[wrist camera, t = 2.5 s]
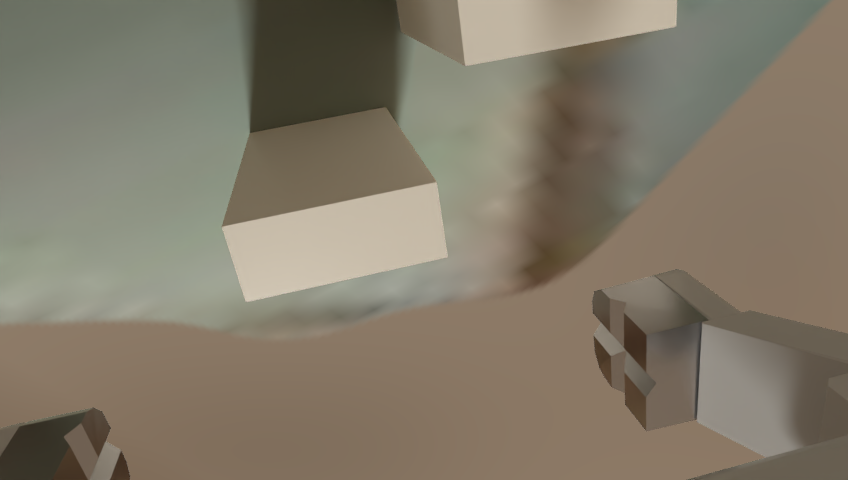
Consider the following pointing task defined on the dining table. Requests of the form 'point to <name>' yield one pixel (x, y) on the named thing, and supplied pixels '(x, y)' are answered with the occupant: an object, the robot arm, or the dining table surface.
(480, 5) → the domino
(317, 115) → the dining table surface
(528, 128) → the dining table surface
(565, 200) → the dining table surface
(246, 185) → the domino
